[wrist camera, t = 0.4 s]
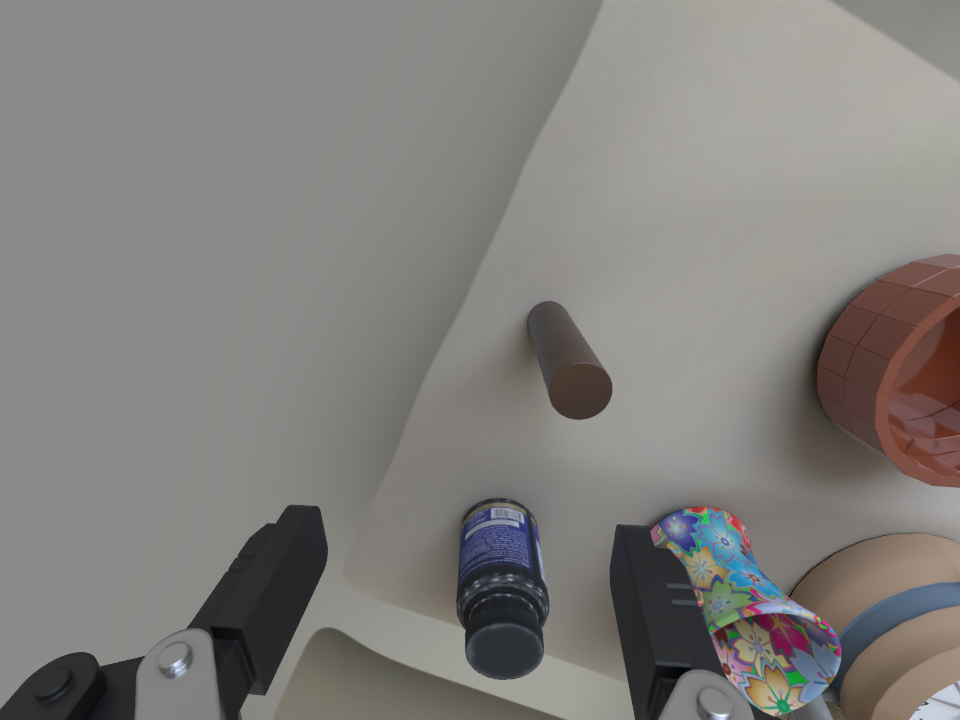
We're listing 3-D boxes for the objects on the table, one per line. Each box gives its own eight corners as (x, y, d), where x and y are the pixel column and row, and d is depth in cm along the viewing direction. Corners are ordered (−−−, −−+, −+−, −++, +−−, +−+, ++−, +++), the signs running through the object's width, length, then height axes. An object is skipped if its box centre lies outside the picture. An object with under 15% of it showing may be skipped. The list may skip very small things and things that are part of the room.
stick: (523, 306, 32) (543, 370, 20) (564, 296, 31) (607, 356, 20) (531, 344, 33) (555, 425, 21) (571, 335, 32) (616, 413, 21)
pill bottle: (446, 527, 38) (430, 653, 28) (497, 480, 36) (502, 595, 26) (500, 568, 39) (505, 703, 29) (553, 525, 38) (578, 652, 27)
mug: (773, 537, 38) (875, 661, 28) (687, 604, 40) (753, 740, 30) (669, 455, 35) (740, 558, 25) (585, 532, 38) (619, 654, 28)
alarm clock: (1187, 706, 31) (898, 868, 37) (1033, 592, 39) (820, 740, 46) (1026, 591, 28) (743, 789, 34) (897, 495, 36) (691, 668, 43)
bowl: (808, 280, 31) (880, 300, 25) (1031, 230, 30) (1160, 240, 24) (809, 455, 35) (870, 506, 30) (1003, 419, 34) (1106, 464, 28)
